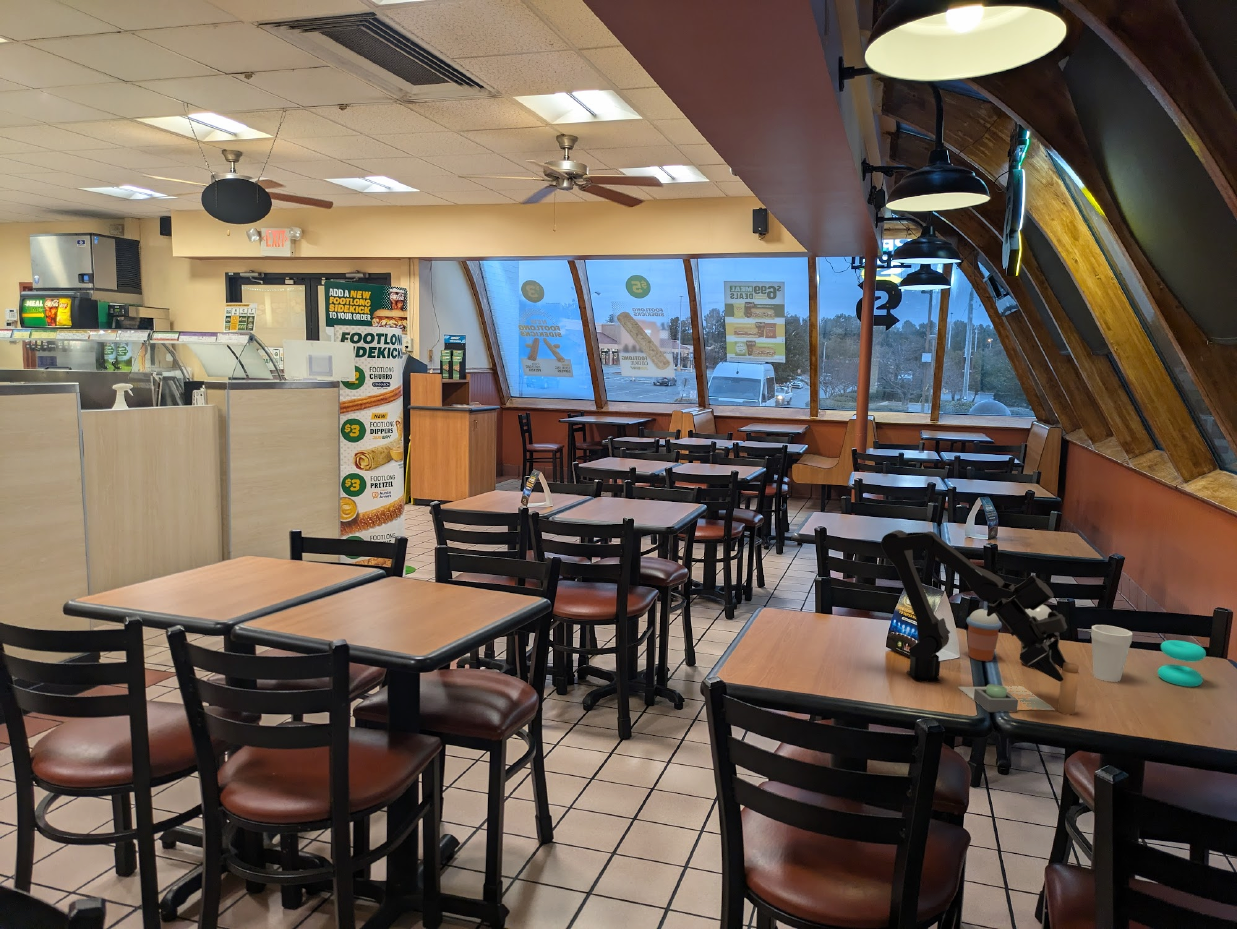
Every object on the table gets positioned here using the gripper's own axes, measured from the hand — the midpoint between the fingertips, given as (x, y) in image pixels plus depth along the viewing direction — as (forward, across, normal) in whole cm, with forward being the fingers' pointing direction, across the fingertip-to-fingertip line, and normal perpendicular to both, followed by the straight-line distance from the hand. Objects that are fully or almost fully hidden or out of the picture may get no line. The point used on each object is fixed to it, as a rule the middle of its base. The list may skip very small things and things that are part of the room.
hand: (1064, 675), depth 202 cm
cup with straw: (-11, +28, +23) cm, 38 cm away
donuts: (+22, +44, -9) cm, 50 cm away
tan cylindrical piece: (+7, 0, +6) cm, 9 cm away
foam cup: (+11, +34, +2) cm, 35 cm away
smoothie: (-2, +31, +14) cm, 34 cm away
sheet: (-3, -1, +15) cm, 15 cm away
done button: (-4, -8, +14) cm, 17 cm away
